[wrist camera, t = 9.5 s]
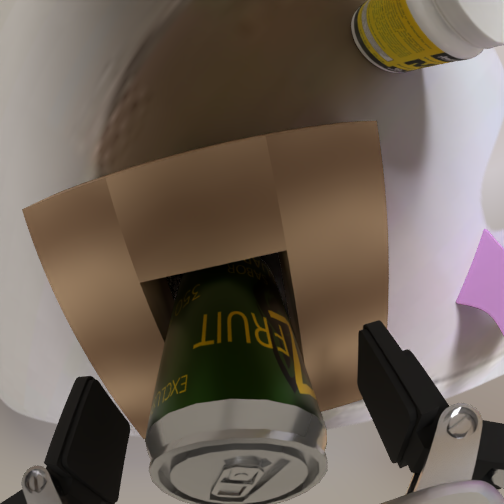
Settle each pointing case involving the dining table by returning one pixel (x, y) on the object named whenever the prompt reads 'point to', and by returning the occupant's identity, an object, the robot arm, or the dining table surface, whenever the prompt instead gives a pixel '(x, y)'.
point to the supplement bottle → (426, 31)
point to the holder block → (224, 249)
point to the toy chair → (486, 280)
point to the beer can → (233, 395)
